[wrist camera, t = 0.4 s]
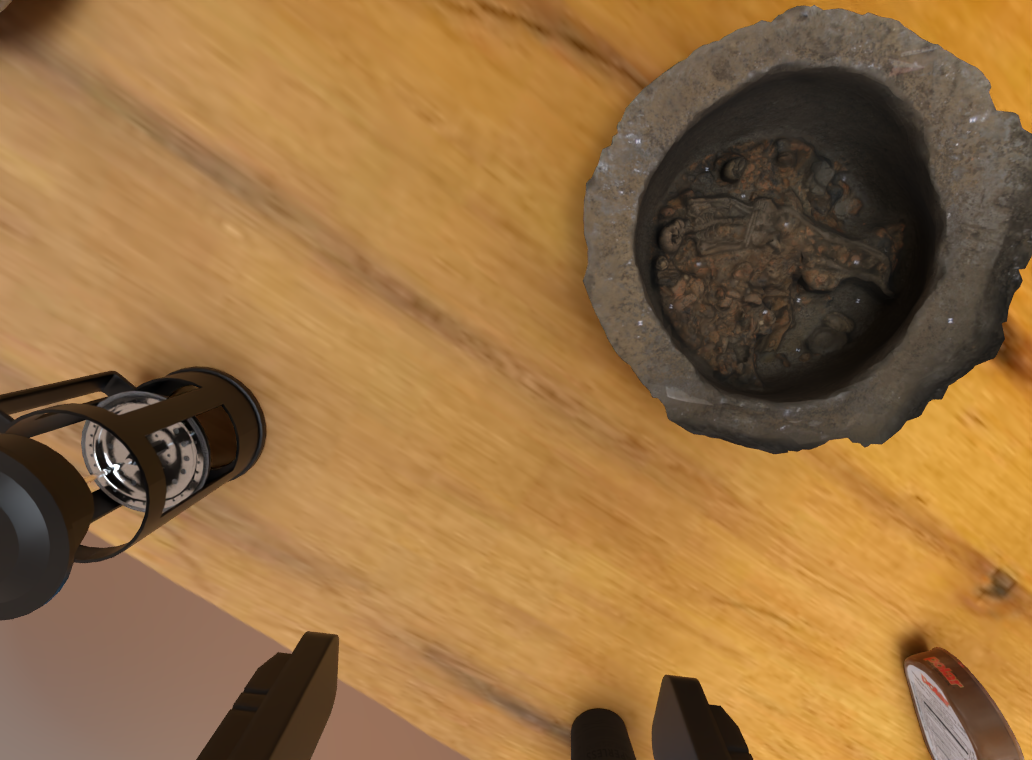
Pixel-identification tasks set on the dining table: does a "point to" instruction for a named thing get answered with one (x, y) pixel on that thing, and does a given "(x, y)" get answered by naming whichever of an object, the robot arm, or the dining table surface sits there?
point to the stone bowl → (809, 230)
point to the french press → (107, 468)
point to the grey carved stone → (4, 4)
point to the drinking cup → (600, 737)
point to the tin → (957, 710)
